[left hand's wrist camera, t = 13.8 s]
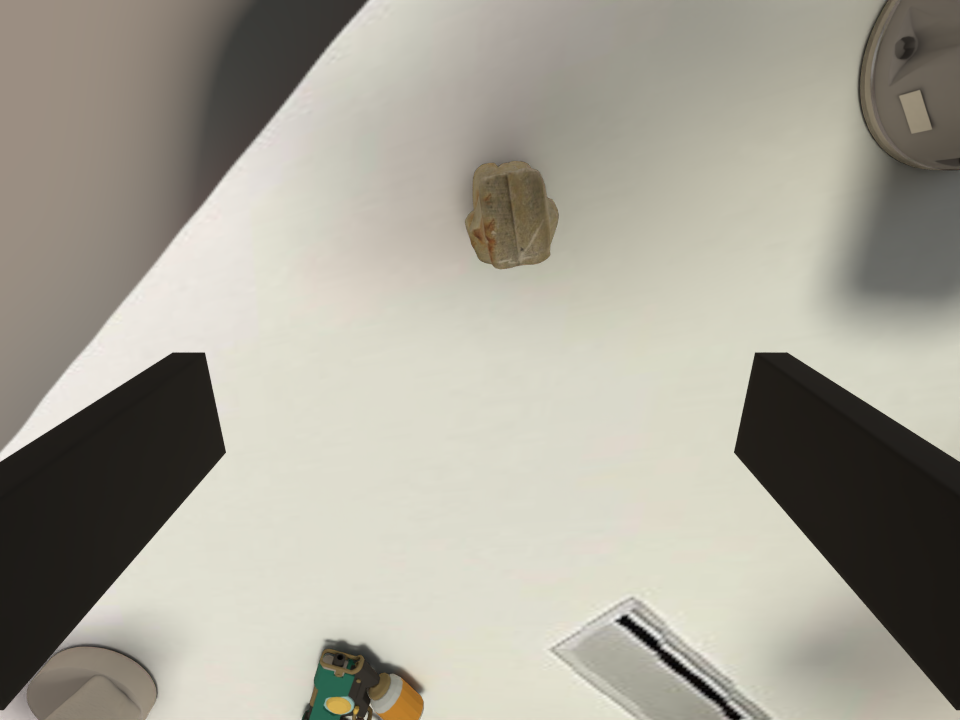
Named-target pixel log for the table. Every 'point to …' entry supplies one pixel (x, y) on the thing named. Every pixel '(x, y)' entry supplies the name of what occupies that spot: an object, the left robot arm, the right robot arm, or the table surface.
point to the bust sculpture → (91, 687)
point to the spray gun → (359, 691)
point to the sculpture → (511, 215)
